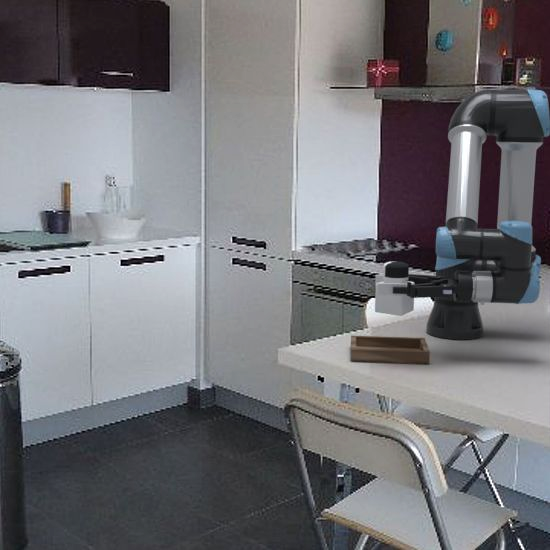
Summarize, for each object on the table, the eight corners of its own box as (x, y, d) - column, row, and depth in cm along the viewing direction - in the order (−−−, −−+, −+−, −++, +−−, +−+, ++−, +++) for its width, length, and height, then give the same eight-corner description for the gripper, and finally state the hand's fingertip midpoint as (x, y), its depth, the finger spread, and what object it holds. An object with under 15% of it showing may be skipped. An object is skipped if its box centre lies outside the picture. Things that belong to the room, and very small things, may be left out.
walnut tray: (350, 347, 214) (351, 335, 213) (424, 349, 212) (424, 337, 212) (351, 361, 201) (351, 349, 200) (429, 364, 199) (429, 352, 199)
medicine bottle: (414, 310, 205) (416, 261, 202) (401, 316, 199) (403, 266, 196) (387, 306, 208) (388, 258, 206) (374, 312, 202) (375, 263, 200)
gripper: (478, 312, 191) (379, 310, 192) (463, 292, 213) (373, 290, 214) (480, 280, 190) (380, 278, 191) (464, 263, 211) (374, 261, 213)
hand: (376, 284), depth 203 cm, fingers closed on medicine bottle, 9 cm apart
